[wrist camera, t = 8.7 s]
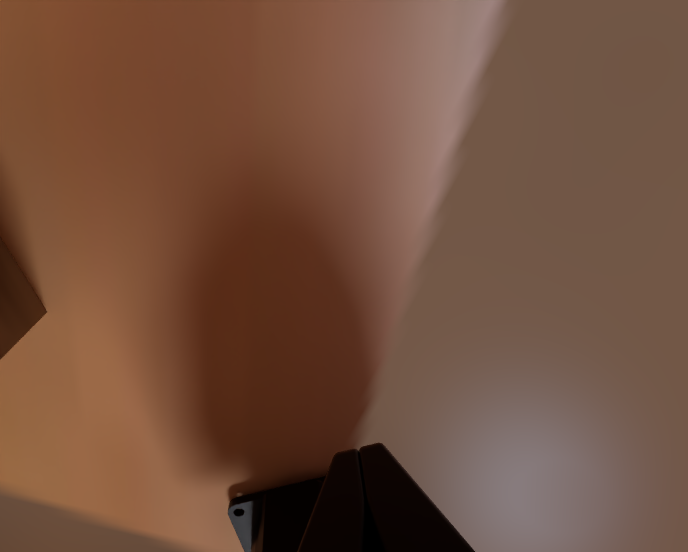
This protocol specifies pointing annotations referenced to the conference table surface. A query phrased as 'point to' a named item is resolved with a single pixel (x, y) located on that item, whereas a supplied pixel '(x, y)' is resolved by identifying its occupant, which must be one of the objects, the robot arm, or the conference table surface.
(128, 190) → the conference table surface
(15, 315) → the walnut block
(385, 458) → the robot arm
